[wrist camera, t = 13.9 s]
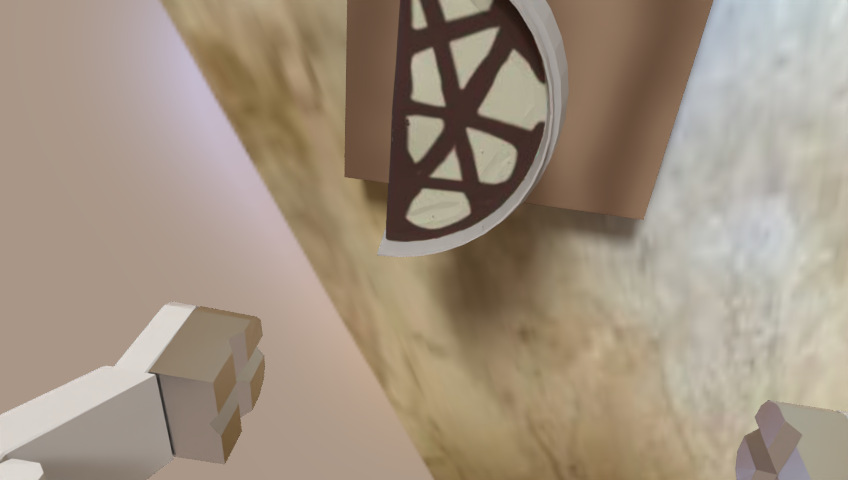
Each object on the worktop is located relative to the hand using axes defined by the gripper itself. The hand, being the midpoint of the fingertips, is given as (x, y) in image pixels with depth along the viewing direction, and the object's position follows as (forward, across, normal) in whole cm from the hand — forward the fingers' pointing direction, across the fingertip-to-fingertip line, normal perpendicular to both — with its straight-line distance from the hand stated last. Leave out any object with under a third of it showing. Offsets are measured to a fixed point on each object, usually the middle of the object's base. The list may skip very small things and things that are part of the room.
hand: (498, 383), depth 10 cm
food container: (+22, +1, +1) cm, 22 cm away
